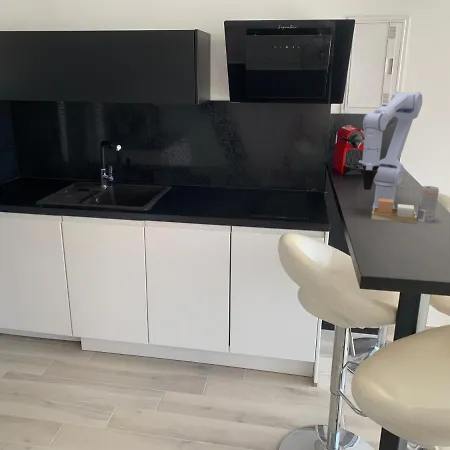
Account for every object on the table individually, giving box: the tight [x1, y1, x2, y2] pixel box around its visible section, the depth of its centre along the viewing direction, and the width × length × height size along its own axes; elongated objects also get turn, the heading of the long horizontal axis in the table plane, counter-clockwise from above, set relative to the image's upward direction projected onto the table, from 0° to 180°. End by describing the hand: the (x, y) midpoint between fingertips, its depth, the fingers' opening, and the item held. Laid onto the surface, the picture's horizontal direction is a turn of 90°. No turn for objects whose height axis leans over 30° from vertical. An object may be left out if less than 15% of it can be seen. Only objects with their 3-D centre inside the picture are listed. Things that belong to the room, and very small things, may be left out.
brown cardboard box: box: [377, 198, 393, 215], centre depth 159 cm, size 5×5×6 cm
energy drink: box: [416, 185, 440, 224], centre depth 155 cm, size 5×5×12 cm
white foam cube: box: [396, 203, 415, 217], centre depth 157 cm, size 5×5×4 cm
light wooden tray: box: [371, 207, 418, 225], centre depth 159 cm, size 9×14×3 cm, turn 70°
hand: (367, 187), depth 162 cm, fingers open, 7 cm apart
